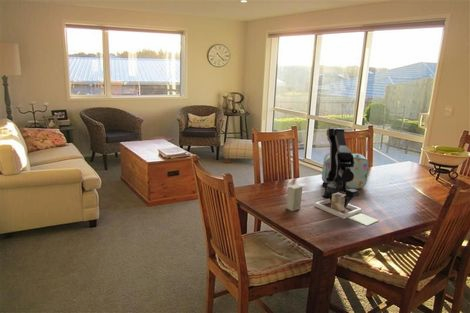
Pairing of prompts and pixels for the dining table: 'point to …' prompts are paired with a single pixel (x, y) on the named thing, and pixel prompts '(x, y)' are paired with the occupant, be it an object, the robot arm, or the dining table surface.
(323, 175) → the lunch box
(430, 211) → the dining table surface
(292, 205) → the skincare box
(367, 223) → the sage pad
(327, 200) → the white rectangular frame
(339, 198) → the birch parts box
